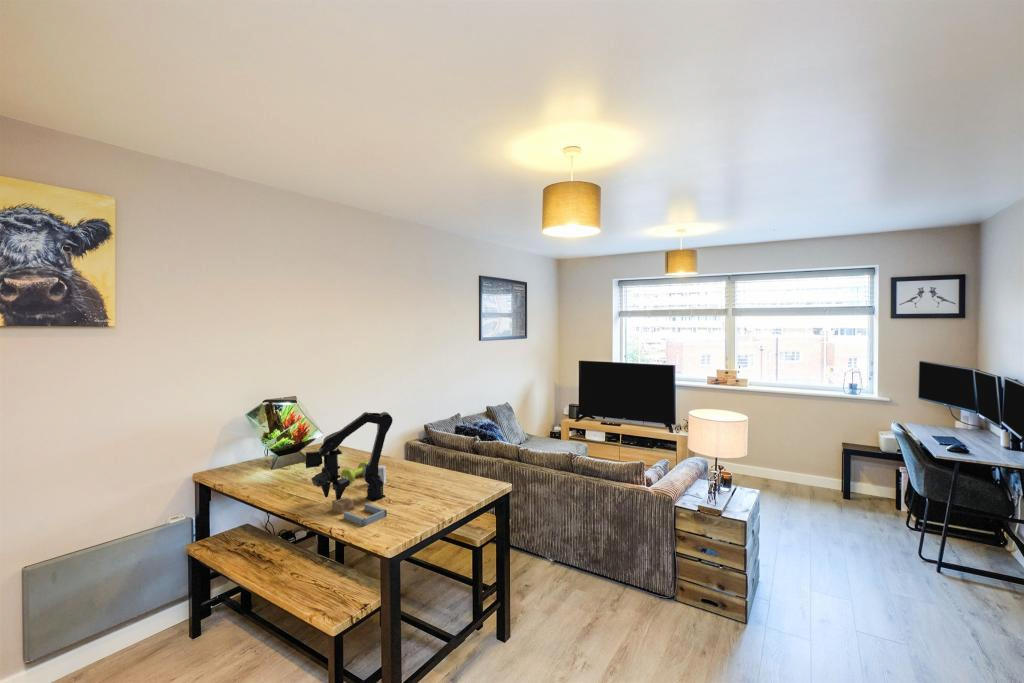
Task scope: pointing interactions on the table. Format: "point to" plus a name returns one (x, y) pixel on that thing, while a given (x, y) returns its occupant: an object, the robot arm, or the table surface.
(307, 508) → the table surface
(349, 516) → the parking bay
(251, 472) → the table surface
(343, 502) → the block
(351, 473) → the dumbbell
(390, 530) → the table surface
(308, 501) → the table surface
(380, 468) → the medicine box
